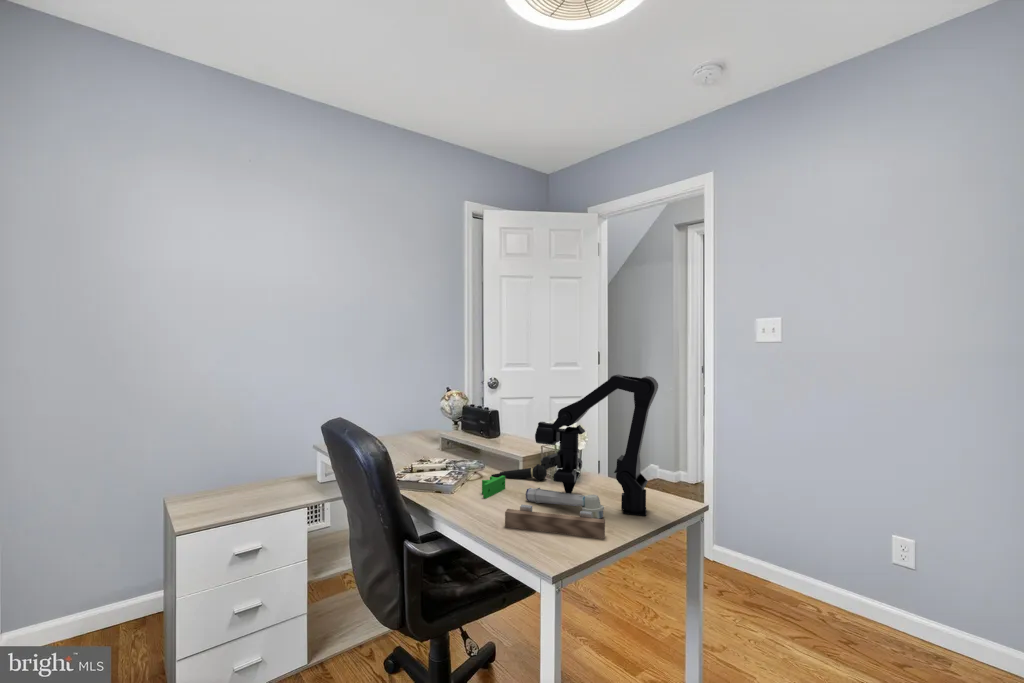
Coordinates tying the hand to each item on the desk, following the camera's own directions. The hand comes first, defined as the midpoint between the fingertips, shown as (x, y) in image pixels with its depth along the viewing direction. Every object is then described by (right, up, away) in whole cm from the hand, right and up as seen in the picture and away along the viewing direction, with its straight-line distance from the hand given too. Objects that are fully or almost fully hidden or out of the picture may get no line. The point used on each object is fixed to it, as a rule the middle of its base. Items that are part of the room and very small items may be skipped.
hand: (568, 497), depth 149 cm
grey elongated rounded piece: (-2, -2, -7) cm, 7 cm away
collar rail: (-6, -1, -23) cm, 24 cm away
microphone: (-14, -1, +23) cm, 27 cm away
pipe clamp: (-24, -1, +7) cm, 25 cm away
